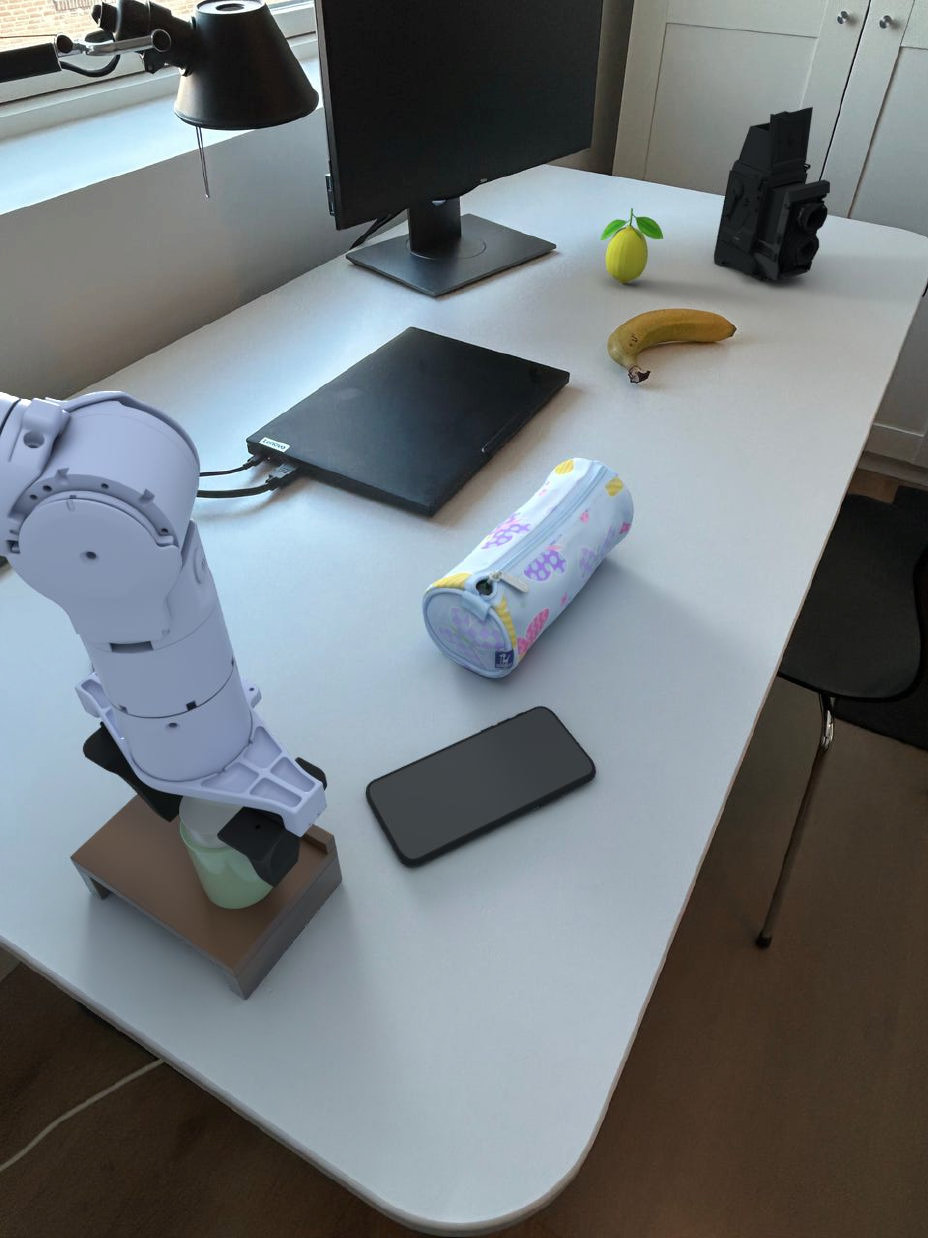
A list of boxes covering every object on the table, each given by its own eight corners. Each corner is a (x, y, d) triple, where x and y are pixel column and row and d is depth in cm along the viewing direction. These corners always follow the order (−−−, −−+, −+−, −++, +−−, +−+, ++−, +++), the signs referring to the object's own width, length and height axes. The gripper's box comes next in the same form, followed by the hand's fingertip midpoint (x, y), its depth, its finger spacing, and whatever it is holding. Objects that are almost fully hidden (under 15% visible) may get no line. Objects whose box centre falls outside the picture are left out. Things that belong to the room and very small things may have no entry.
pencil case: (505, 704, 66) (509, 611, 59) (413, 656, 69) (407, 564, 63) (633, 556, 78) (647, 467, 72) (549, 523, 82) (555, 434, 75)
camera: (771, 297, 117) (811, 130, 103) (703, 262, 126) (732, 104, 112) (825, 281, 121) (871, 118, 107) (755, 249, 129) (789, 94, 116)
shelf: (246, 1001, 50) (229, 961, 46) (89, 891, 55) (63, 848, 51) (343, 879, 55) (334, 835, 52) (192, 789, 60) (175, 744, 57)
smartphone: (358, 783, 60) (545, 699, 65) (359, 791, 60) (544, 708, 65) (406, 869, 55) (603, 771, 60) (407, 876, 56) (602, 779, 60)
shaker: (190, 903, 50) (159, 832, 45) (219, 836, 53) (193, 763, 48) (264, 915, 49) (240, 845, 44) (289, 847, 52) (269, 775, 48)
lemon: (656, 289, 119) (667, 212, 113) (618, 296, 118) (627, 219, 111) (630, 271, 124) (640, 196, 117) (594, 277, 122) (601, 202, 115)
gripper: (353, 675, 39) (377, 844, 48) (124, 565, 44) (185, 735, 54) (245, 788, 34) (294, 949, 44) (6, 651, 40) (95, 819, 49)
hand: (228, 838), depth 49 cm, fingers open, 7 cm apart
